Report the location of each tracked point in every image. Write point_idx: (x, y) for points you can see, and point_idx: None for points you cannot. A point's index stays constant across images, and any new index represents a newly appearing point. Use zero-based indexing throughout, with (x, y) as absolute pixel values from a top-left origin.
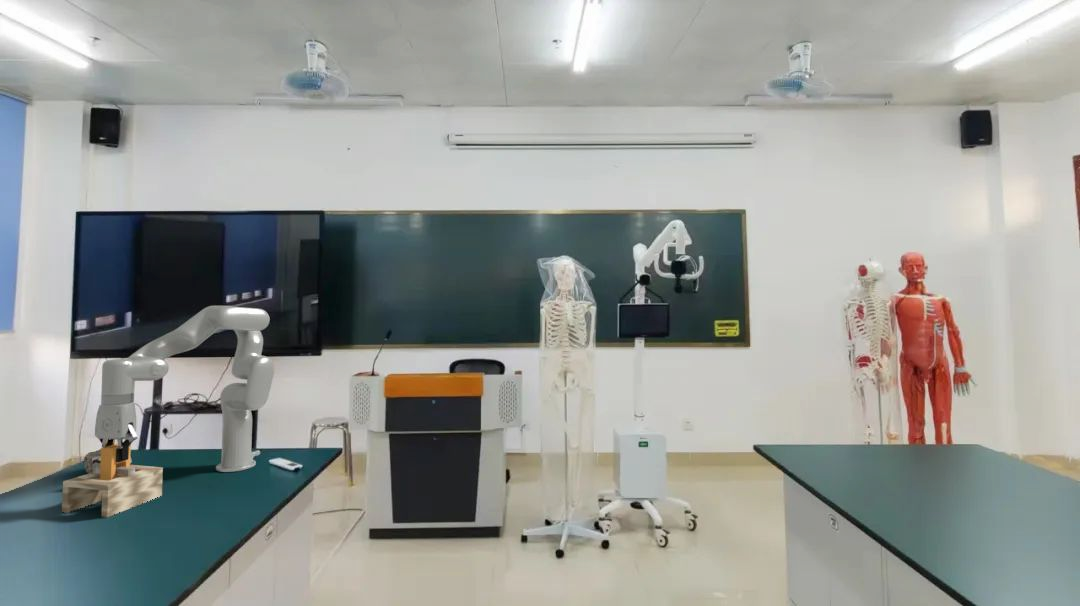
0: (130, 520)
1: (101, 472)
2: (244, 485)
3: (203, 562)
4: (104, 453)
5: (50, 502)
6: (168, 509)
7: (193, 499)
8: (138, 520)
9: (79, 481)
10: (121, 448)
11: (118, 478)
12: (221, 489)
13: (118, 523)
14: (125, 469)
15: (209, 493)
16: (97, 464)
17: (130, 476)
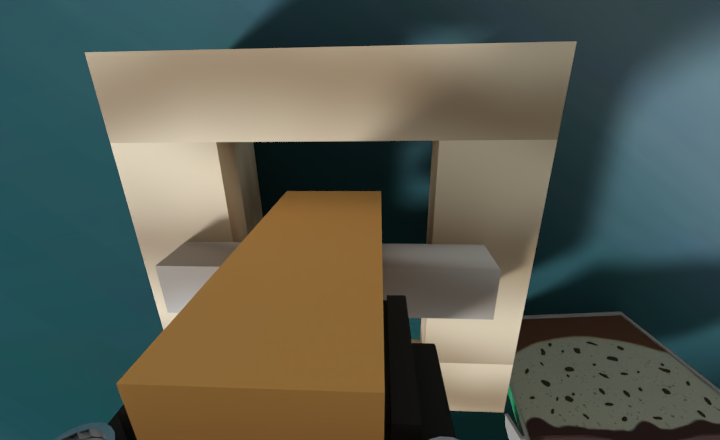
0: (74, 65)
1: (367, 214)
2: (80, 414)
3: None
4: (312, 319)
5: (679, 152)
6: (68, 197)
7: (96, 292)
8: (43, 73)
9: (418, 70)
10: (78, 435)
11: (200, 196)
12: (111, 378)
13: (83, 22)
14: (184, 267)
15: (108, 345)
16: (703, 412)
17: (171, 245)
